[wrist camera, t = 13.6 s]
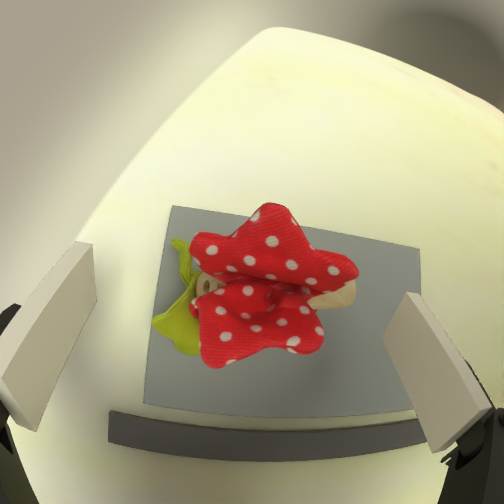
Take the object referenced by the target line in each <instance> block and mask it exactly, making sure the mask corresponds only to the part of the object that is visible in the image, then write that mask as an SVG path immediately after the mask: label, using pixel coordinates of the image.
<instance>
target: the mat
mask: <svg viewBox="0 0 504 504" xmlns="http://www.w3.org/2000/svg"><path fill="white" fill-rule="evenodd" d="M249 218H250V217H246V216H240V215H234V214H228V213H221V212H215V211H208V210H202V209H195V208H188V207H181V206H174V205H173V206H172V210H171V215H170V220H169V225H168V230H167V235H166V240H165V245H164V250H163V256H162V261H161V267H160V273H159V279H158V285H157V291H156V297H155V304H154V311H153V318H154V317H155V316H156V315H160V314H162V313H165V312H167V311H168V309H169V308H170V307H171V306H172V305H173V304H174V303H175V302H176V301H177V300H178V299H179V298H180V297H181V296H182V295H183V294H184V292H185V291H186V290H187V288H188V287H187V286H186V285H185V283H184V282H183V280H182V278H181V276H180V273H179V265H180V262H179V252H178V251H177V250H176V249H174V248H173V246H172V244H171V241H172V239H173V238H179V239H182V240H184V241H185V242H186V243H191V242H192V240H193V238H194V236H195V234H196V233H197V232H210V233H216V234H220V235H222V236H229V235H231V234H232V233H234V232H235V231H236V230H237V229H238V228H239V227H240V226H242V225H243V224H244V223H245V222H246V221H247V220H248V219H249ZM300 227H301V229H302V231H303V232H304V234H305V236H306V238H307V240H308V241H309V243H310V244H311V245H312V246H313V247H314V248H316V249H319V250H325V251H330V252H334V253H339V254H342V255H345V256H347V257H349V258H350V259H351V260H352V261H353V262H354V264H355V265H356V267H357V268H358V270H359V276H358V277H357V278H356V279H354V280H355V284H356V296H355V300H354V302H353V303H352V304H351V305H349V306H347V307H344V308H336V309H318V310H317V312H316V315H317V316H318V318H319V320H320V322H321V324H322V327H323V331H324V342H323V344H322V346H321V348H320V349H319V350H317V351H316V352H314V353H312V354H308V355H301V354H295V353H291V352H289V351H287V350H284V349H282V348H277V347H275V348H265V349H263V350H261V351H260V352H258V353H256V354H254V355H251V356H249V357H247V358H245V359H242V360H239V361H236V362H234V363H232V364H230V365H227V366H225V367H222V368H220V369H212V368H210V367H208V366H207V365H206V364H205V363H204V362H203V360H202V358H201V354H200V355H194V356H189V355H186V354H184V353H182V352H179V351H178V350H176V348H175V347H174V340H172V339H170V338H168V337H165V336H163V335H162V334H160V333H159V332H158V331H157V330H155V329H154V328H153V326H152V325H151V333H150V341H149V349H148V358H147V368H146V378H145V389H144V401H143V403H144V404H149V405H155V406H161V407H167V408H173V409H180V410H187V411H195V412H204V413H213V414H223V415H236V416H251V417H277V418H315V417H340V416H355V415H367V414H378V413H387V412H395V411H402V410H409V409H413V405H412V403H411V401H410V398H409V396H408V394H407V392H406V389H405V387H404V385H403V383H402V381H401V378H400V376H399V374H398V372H397V370H396V368H395V366H394V363H393V361H392V359H391V357H390V355H389V353H388V351H387V349H386V347H385V345H384V343H383V341H382V339H381V337H382V335H383V333H384V332H385V330H386V328H387V326H388V325H389V323H390V321H391V319H392V317H393V316H394V314H395V312H396V310H397V308H398V306H399V304H400V303H401V301H402V299H403V297H404V295H405V293H406V292H411V293H418V294H419V295H420V296H421V275H420V252H419V249H417V248H412V247H408V246H403V245H398V244H393V243H388V242H383V241H378V240H373V239H368V238H363V237H358V236H353V235H348V234H343V233H337V232H332V231H327V230H321V229H316V228H310V227H305V226H300ZM191 268H192V269H194V270H196V271H198V272H200V271H201V269H200V268H199V267H198V265H197V264H196V262H195V261H194V259H193V257H192V263H191ZM153 318H152V319H153ZM108 442H110V443H114V444H119V445H123V446H127V447H132V448H137V449H142V450H147V451H152V452H158V453H164V454H171V455H178V456H185V457H194V458H203V459H215V460H229V461H254V462H282V461H307V460H321V459H333V458H342V457H350V456H358V455H365V454H371V453H377V452H383V451H388V450H393V449H398V448H403V447H408V446H412V445H416V444H420V443H424V442H427V439H426V436H425V434H424V432H423V429H422V427H421V424H420V422H419V419H415V420H410V421H404V422H397V423H391V424H383V425H376V426H367V427H357V428H346V429H332V430H310V431H262V430H240V429H226V428H214V427H204V426H196V425H188V424H180V423H173V422H167V421H161V420H155V419H149V418H144V417H139V416H134V415H129V414H124V413H120V412H116V411H110V412H109V429H108Z"/></svg>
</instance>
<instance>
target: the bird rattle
mask: <svg viewBox="0 0 504 504" xmlns="http://www.w3.org/2000/svg"><path fill="white" fill-rule="evenodd" d="M171 244H172V246H173V248H174V249H176V250H177V251H178V252H179V262H180V265H179V273H180V276H181V278H182V280H183V282H184V283H185V285H186V286H187V287H188V288H187V290H186V291H185V292H184V294H183V295H182V296H181V297H180V298H179V299H178V300H177V301H176V302H175V303H174V304H173V305H172V306H171V307H170V308H169V309H168V311H167V312H165V313H162V314H160V315H156V316H155V317H154V318H153V319H152V326H153V328H154V329H155V330H157V331H158V332H159V333H160V334H162V335H163V336H165V337H168V338H170V339H172V340H174V347H175V348H176V350H178V351H179V352H182V353H184V354H186V355H189V356H194V355H200V354H201V358H202V360H203V362H204V363H205V364H206V365H207V366H208V367H210V368H212V369H220V368H222V367H225V366H227V365H230V364H232V363H234V362H236V361H239V360H242V359H245V358H247V357H249V356H251V355H254V354H256V353H258V352H260V351H261V350H263V349H265V348H275V347H277V348H282V349H284V350H287V351H289V352H291V353H295V354H301V355H308V354H312V353H314V352H316V351H317V350H319V349H320V348H321V346H322V344H323V342H324V331H323V327H322V324H321V322H320V320H319V318H318V316H317V315H316V312H317V310H318V309H336V308H344V307H347V306H349V305H351V304H352V303H353V302H354V300H355V296H356V284H355V280H354V279H356V278H357V277H358V276H359V270H358V268H357V267H356V265H355V264H354V262H353V261H352V260H351V259H350V258H349V257H347V256H345V255H342V254H339V253H334V252H330V251H325V250H319V249H316V248H314V247H313V246H312V245H311V244H310V243H309V241H308V240H307V238H306V236H305V234H304V232H303V231H302V229H301V227H300V226H299V224H298V223H297V221H296V220H295V219H294V217H293V216H292V214H291V213H290V211H289V209H287V208H286V207H285V206H283V205H280V204H276V203H270V202H269V203H265V204H263V205H262V206H261V207H260V208H258V209H257V210H256V211H255V212H254V214H253V215H252V216H251V217H250V218H249V219H248V220H247V221H246V222H245V223H244V224H243V225H242V226H240V227H239V228H238V229H237V230H236V231H235V232H234V233H232V234H231V235H229V236H222V235H220V234H216V233H210V232H197V233H196V234H195V236H194V238H193V240H192V242H191V243H186V242H185V241H184V240H182V239H179V238H173V239H172V241H171ZM192 257H193V259H194V261H195V262H196V264H197V265H198V267H199V268H200V269H201V271H200V272H198V271H196V270H194V269H192V268H191V263H192Z"/></svg>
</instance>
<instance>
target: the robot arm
mask: <svg viewBox="0 0 504 504" xmlns="http://www.w3.org/2000/svg"><path fill="white" fill-rule="evenodd" d="M96 302H97V297H96V288H95V277H94V264H93V248H92V244H88V243H83V242H77V241H75V242H74V243H73V245H72V246H71V247H70V248H69V249H68V250H67V251H66V252H65V253H64V255H63V256H62V257H61V258H60V259H59V260H58V262H57V263H56V264H55V265H54V266H53V267H52V269H51V270H50V271H49V272H48V273H47V275H46V276H45V277H44V278H43V279H42V281H41V282H40V283H39V284H38V286H37V287H36V288H35V289H34V291H33V292H32V293H31V295H30V296H29V298H28V299H27V300H26V301H25V302H24V304H23V305H22V306H21V305H18V304H13V305H11V306H10V307H8V308H7V309H5V310H4V311H3V312H2V313H1V314H0V504H39V502H38V500H37V498H36V496H35V494H34V492H33V490H32V487H31V485H30V483H29V480H28V478H27V476H26V473H25V471H24V468H23V466H22V463H21V461H20V458H19V455H18V452H17V450H16V447H15V444H14V441H13V438H12V435H11V431H10V428H9V426H8V424H7V419H8V417H9V415H11V417H12V418H13V420H14V421H15V422H16V424H18V425H20V426H23V427H25V428H27V429H29V430H32V431H34V432H36V431H37V429H38V426H39V423H40V421H41V418H42V416H43V413H44V411H45V408H46V406H47V403H48V401H49V398H50V396H51V394H52V391H53V389H54V387H55V385H56V382H57V380H58V378H59V376H60V373H61V371H62V369H63V367H64V365H65V363H66V360H67V358H68V356H69V354H70V352H71V350H72V348H73V346H74V344H75V342H76V340H77V338H78V336H79V334H80V332H81V330H82V328H83V326H84V324H85V322H86V320H87V319H88V317H89V315H90V313H91V311H92V309H93V307H94V306H95V304H96ZM381 339H382V341H383V343H384V345H385V347H386V349H387V351H388V353H389V355H390V357H391V359H392V361H393V363H394V366H395V368H396V370H397V372H398V374H399V376H400V378H401V381H402V383H403V385H404V387H405V389H406V392H407V394H408V396H409V398H410V401H411V403H412V405H413V408H414V410H415V412H416V415H417V417H418V419H419V422H420V424H421V427H422V429H423V432H424V434H425V436H426V439H427V441H428V444H429V447H430V449H431V452H432V454H433V453H436V452H440V451H443V450H446V449H447V448H448V447H449V446H451V445H452V444H453V443H454V442H455V441H456V442H457V445H458V446H457V447H456V448H454V449H453V450H452V451H451V452H450V453H448V454H447V455H446V456H445V457H443V458H442V460H441V463H443V462H444V461H446V460H447V459H448V458H449V457H451V459H450V460H449V461H448V462H447V463H446V465H448V466H449V468H448V471H447V475H446V478H445V482H444V485H443V488H442V492H441V495H440V498H439V501H438V504H504V409H503V408H498V409H497V410H496V408H495V407H494V405H493V403H492V402H491V400H490V398H489V396H488V394H487V393H486V391H485V389H484V388H483V386H482V384H481V383H480V382H479V379H478V378H477V376H476V375H475V373H474V371H473V369H472V368H471V366H470V365H469V363H468V362H467V361H466V360H465V359H464V358H463V357H462V355H461V354H460V352H459V351H458V349H457V348H456V346H455V345H454V343H453V342H452V340H451V339H450V337H449V336H448V334H447V333H446V331H445V330H444V328H443V327H442V325H441V324H440V323H439V321H438V320H437V318H436V317H435V316H434V314H433V313H432V311H431V310H430V309H429V307H428V306H427V304H426V303H425V302H424V300H423V299H422V298H421V296H420V295H419V294H418V293H411V292H406V293H405V295H404V297H403V299H402V301H401V303H400V304H399V306H398V308H397V310H396V312H395V314H394V316H393V317H392V319H391V321H390V323H389V325H388V326H387V328H386V330H385V332H384V333H383V335H382V337H381Z"/></svg>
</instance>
